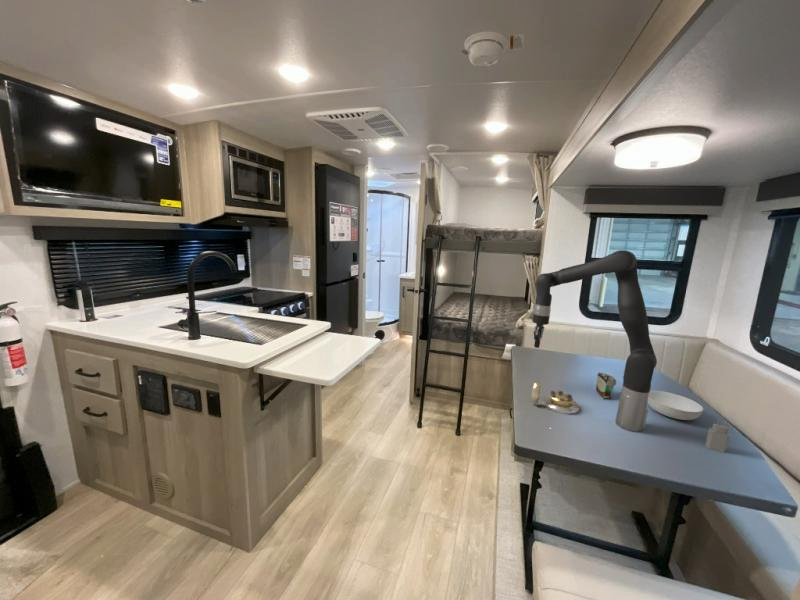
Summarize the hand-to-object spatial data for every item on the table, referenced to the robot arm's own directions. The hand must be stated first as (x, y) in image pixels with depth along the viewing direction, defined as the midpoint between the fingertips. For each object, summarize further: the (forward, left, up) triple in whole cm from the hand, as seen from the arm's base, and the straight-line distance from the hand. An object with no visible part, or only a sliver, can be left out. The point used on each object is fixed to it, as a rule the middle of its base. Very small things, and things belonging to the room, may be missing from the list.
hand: (536, 347), depth 164 cm
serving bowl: (-59, +17, -23) cm, 66 cm away
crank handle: (-3, +16, -21) cm, 27 cm away
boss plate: (-8, +15, -23) cm, 29 cm away
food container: (-38, +2, -23) cm, 44 cm away
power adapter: (-55, +43, -23) cm, 74 cm away
